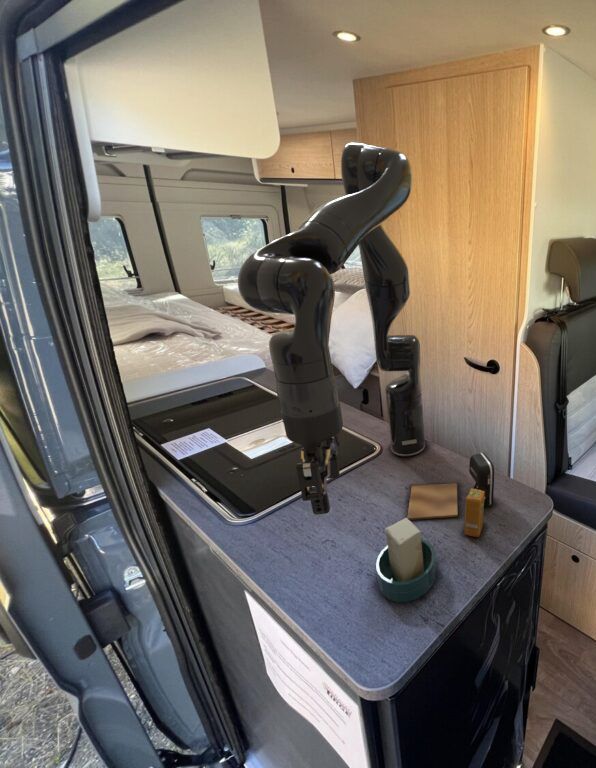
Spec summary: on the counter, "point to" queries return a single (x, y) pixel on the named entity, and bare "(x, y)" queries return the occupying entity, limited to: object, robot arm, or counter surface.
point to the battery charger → (483, 475)
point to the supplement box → (474, 512)
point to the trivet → (433, 501)
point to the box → (405, 550)
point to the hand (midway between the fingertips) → (327, 493)
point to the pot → (406, 588)
